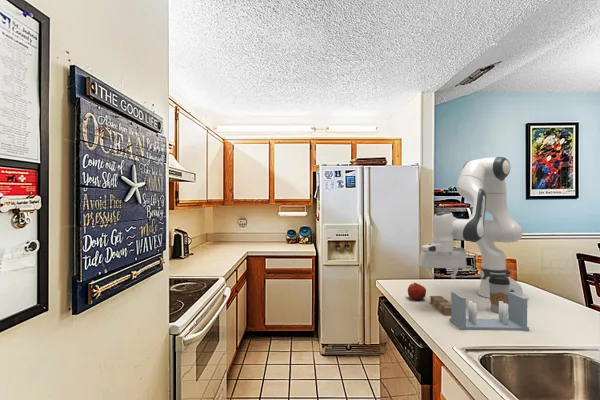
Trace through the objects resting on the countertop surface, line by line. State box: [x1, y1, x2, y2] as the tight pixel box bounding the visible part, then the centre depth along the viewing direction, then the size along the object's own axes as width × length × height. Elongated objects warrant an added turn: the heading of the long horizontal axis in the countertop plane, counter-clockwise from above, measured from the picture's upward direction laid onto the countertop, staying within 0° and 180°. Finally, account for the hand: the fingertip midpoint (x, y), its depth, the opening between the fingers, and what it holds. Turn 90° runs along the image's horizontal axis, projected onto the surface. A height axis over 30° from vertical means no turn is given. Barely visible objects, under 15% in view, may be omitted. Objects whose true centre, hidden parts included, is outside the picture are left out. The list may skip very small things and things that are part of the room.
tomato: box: [407, 282, 427, 301], centre depth 175 cm, size 9×9×8 cm
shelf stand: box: [448, 290, 530, 332], centre depth 138 cm, size 26×10×12 cm, turn 88°
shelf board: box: [429, 295, 451, 317], centre depth 158 cm, size 18×5×4 cm, turn 179°
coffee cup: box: [489, 276, 510, 314], centre depth 156 cm, size 8×8×15 cm
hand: (442, 277), depth 158 cm, fingers open, 8 cm apart
